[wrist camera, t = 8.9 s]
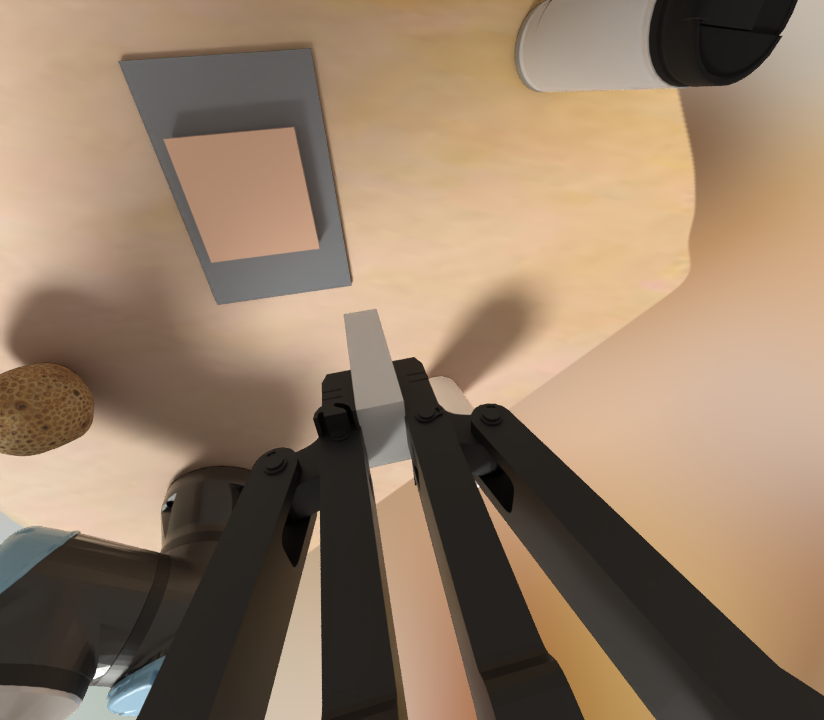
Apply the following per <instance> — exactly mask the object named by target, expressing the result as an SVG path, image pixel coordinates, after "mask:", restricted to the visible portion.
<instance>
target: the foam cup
mask: <svg viewBox="0 0 824 720" xmlns="http://www.w3.org/2000/svg"><path fill="white" fill-rule="evenodd" d="M428 380H429V381H430V384H431V386H432V389H433V391H434V394H435V396H436V399H437V401H438V403H439V405H441V406H442V407H443V408H444V409H445V410H446V411H448V412H451V413H454V414H463V415H471V413H472V412H473V410H474V407H473V406H472V405H471V403H470V402H469V401H468V399H467V398H466V396H465V395H464V394H463V392H462V391H461V390H460V388H459V387H458V386H457V385H456V383H455V382H454V381H453V380H452V379H451V378H447V377H443V376H438V377H431V378H429V379H428ZM475 482H476V481H475ZM476 485H477V487H479V485H478V484H477V483H476Z"/></svg>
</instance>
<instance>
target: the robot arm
mask: <svg viewBox="0 0 824 720" xmlns="http://www.w3.org/2000/svg"><path fill="white" fill-rule="evenodd" d="M344 321H345V329H346V336H347V344H348V352H349V360H350V367H351V370H348V371H342V372H337V373H332V374H327V375H326V377H325V379H324V380H323V382H322V406H321V407H320V408H319V409H318V410H317V411H316V412H315V414H314V418H313V420H314V423H315V426H316V429H317V433H318V436H319V438H318V439H317V440H316V441H315V442H314V443H312V444H311V445H310V446H308V447H306V448H304V449H302V450H300V451H298V452H296V453H295V452H294V451H293V450H291V449H289V448H277V449H273V450H271V451H269V452H266V453H265V454H264V455H262V456H261V457H260V458H259V459H258V460H257V461H256V463H255V464H254V466H253V468H252V470H251V471H248V470H245V469H240V468H234V467H210V468H204V469H200V470H196V471H193V472H190V473H188V474H186V475H184V476H182V477H180V478H179V479H178V480H176V481H175V482H174V483H173V484H172V485H171V486H170V488H169V489H168V492H167V494H166V497H165V499H164V502H163V504H162V509H161V530H162V549H161V553H158V552H154V551H150V550H146V549H142V548H138V547H133V546H129V545H125V544H121V543H117V542H113V541H109V540H105V539H101V538H97V537H93V536H89V535H85V534H81V533H80V531H72V532H69V531H63V530H58V529H53V528H47V527H42V526H32V527H27V528H24V529H21V530H19V531H17V532H15V533H14V534H12V535H11V536H9V537H8V538H7V539H6V540H5V541H4V542H3V543H2V544H1V545H0V720H65V719H67V718H68V717H69V716H70V715H72V714H73V713H74V712H76V711H77V710H78V709H79V707H80V705H81V703H82V701H83V698H84V696H85V694H86V691H87V689H88V686H104V687H110V688H111V689H110V691H109V693H108V696H107V699H108V704H107V707H108V709H109V711H110V712H112V713H113V714H116V713H119V715H122V716H138V717H137V719H136V720H264V719H265V715H266V711H267V707H268V703H269V699H270V695H271V691H272V687H273V684H274V680H275V676H276V672H277V668H278V664H279V660H280V656H281V653H282V649H283V645H284V641H285V637H286V633H287V629H288V625H289V622H290V618H291V614H292V610H293V606H294V602H295V598H296V594H297V591H298V587H299V583H300V579H301V575H302V571H303V568H304V564H305V560H306V556H307V552H308V548H309V544H310V540H311V537H312V533H313V529H314V525H315V521H316V517H317V512H318V511H320V548H321V549H320V552H321V630H322V631H321V633H322V634H321V637H322V638H321V639H322V719H321V720H408V716H407V709H406V702H405V696H404V689H403V683H402V676H401V669H400V663H399V656H398V650H397V643H396V636H395V630H394V624H393V616H392V610H391V603H390V596H389V590H388V583H387V578H386V570H385V564H384V557H383V550H382V543H381V537H380V530H379V525H378V517H377V510H376V504H375V497H374V491H373V484H372V478H371V474H370V469H369V468H372V467H377V466H381V465H386V464H390V463H395V462H399V461H404V460H408V459H412V464H413V472H414V480H415V485H417V487H418V491H419V495H420V499H421V503H422V506H423V510H424V514H425V518H426V522H427V525H428V530H429V533H430V537H431V541H432V545H433V548H434V553H435V556H436V560H437V564H438V568H439V572H440V576H441V579H442V583H443V587H444V591H445V595H446V598H447V603H448V606H449V610H450V614H451V618H452V622H453V625H454V629H455V633H456V637H457V641H458V645H459V649H460V652H461V656H462V660H463V664H464V667H465V672H466V675H467V679H468V683H469V687H470V691H471V695H472V698H473V702H474V706H475V710H476V715H477V719H478V720H584V718H583V715H582V713H581V710H580V708H579V706H578V703H577V701H576V699H575V697H574V694H573V692H572V690H571V688H570V685H569V683H568V681H567V679H566V677H565V675H564V673H563V671H562V669H561V667H560V666H559V664H558V663H557V661H556V660H555V659H554V658H553V657H552V656H551V655H550V654H549V653H548V652H547V650H546V648H545V647H544V644H543V642H542V640H541V638H540V635H539V633H538V631H537V628H536V626H535V623H534V621H533V619H532V616H531V614H530V612H529V609H528V607H527V605H526V602H525V600H524V597H523V595H522V592H521V590H520V588H519V585H518V583H517V581H516V578H515V576H514V573H513V571H512V568H511V566H510V564H509V561H508V559H507V557H506V554H505V552H504V549H503V547H502V544H501V542H500V540H499V537H498V535H497V532H496V530H495V528H494V525H493V523H492V521H491V518H490V516H489V513H488V511H487V508H486V506H485V504H484V501H483V499H482V497H481V495H480V492H479V490H478V487H477V485H476V483H477V484H478V485H479V487H480V488H481V489H482V491H483V492H484V493H485V495H486V496H487V497H488V498H489V500H490V501H491V502H492V504H493V505H494V506H495V508H496V509H497V510H498V512H499V513H500V514H501V516H502V517H503V518H504V520H505V521H506V522H507V524H508V525H509V526H510V527H511V529H512V530H513V531H514V533H515V534H516V535H517V537H518V538H519V539H520V541H521V542H522V543H523V545H524V546H525V547H526V548H527V550H528V551H529V552H530V554H531V555H532V557H533V558H534V559H535V560H536V562H537V563H538V564H539V566H540V567H541V568H542V570H543V571H544V572H545V574H546V575H547V576H548V578H549V579H550V580H551V582H552V583H553V584H554V586H555V587H556V588H557V589H558V591H559V592H560V593H561V595H562V596H563V597H564V599H565V600H566V601H567V603H568V604H569V605H570V607H571V608H572V609H573V611H574V612H575V613H576V614H577V616H578V617H579V619H580V620H581V621H582V622H583V624H584V625H585V626H586V628H587V629H588V630H589V632H590V633H591V634H592V636H593V637H594V638H595V639H596V641H597V642H598V644H599V645H600V646H601V648H602V649H603V650H604V652H605V653H606V654H607V655H608V657H609V658H610V659H611V661H612V662H613V663H614V665H615V666H616V667H617V669H618V670H619V671H620V673H621V674H622V675H623V677H624V678H625V679H626V680H627V682H628V683H629V685H631V687H632V688H633V690H634V691H635V692H636V694H637V695H638V696H639V698H640V699H641V700H642V702H643V703H644V704H645V706H646V707H647V708H648V710H649V711H650V712H651V714H652V715H653V716H654V717H655V719H656V720H824V696H823V695H822V694H820V693H818V692H817V691H815V690H814V689H812V688H811V687H809V686H808V685H806V684H805V683H803V682H802V681H800V680H799V679H797V678H795V677H794V676H792V675H791V674H789V673H788V672H786V671H785V670H783V669H781V668H780V667H779V666H778V665H777V664H776V663H775V662H773V661H772V660H771V659H770V658H769V657H768V656H767V655H766V654H765V653H764V652H763V651H762V650H761V649H760V648H759V647H758V646H757V645H756V644H755V643H753V642H752V641H751V640H750V639H749V638H748V637H747V636H746V635H745V634H744V633H743V632H742V631H741V630H740V629H739V628H738V627H736V625H735V624H733V623H732V622H731V621H730V620H729V619H728V618H727V617H726V616H725V615H724V614H723V613H722V612H721V611H720V610H719V609H718V608H716V606H714V605H713V604H712V603H711V602H710V601H709V600H708V599H707V598H706V597H705V596H704V595H703V594H702V593H701V592H700V591H699V590H698V589H696V588H695V587H694V586H693V585H692V584H691V583H690V582H689V581H688V580H687V579H686V578H685V577H684V576H683V575H682V574H681V573H680V572H679V571H677V570H676V569H675V568H674V567H673V566H672V565H671V564H670V563H669V562H668V561H667V560H666V559H665V558H664V557H663V556H662V555H661V554H660V553H659V552H658V551H656V550H655V549H654V548H653V547H652V546H651V545H650V544H649V543H648V542H647V541H646V540H645V539H644V538H643V537H642V536H641V535H639V533H638V532H636V531H635V530H634V529H633V528H632V527H631V526H630V525H629V524H628V523H627V522H626V521H625V520H624V519H623V518H622V517H621V516H620V515H619V514H617V513H616V512H615V511H614V510H613V509H612V508H611V507H610V506H609V505H608V504H607V503H606V502H605V501H604V500H603V499H602V498H601V497H600V496H598V495H597V494H596V493H595V492H594V491H593V490H592V489H591V488H590V487H589V486H588V485H587V484H586V483H585V482H584V481H583V480H582V479H581V478H580V477H578V476H577V475H576V474H575V473H574V472H573V471H572V470H571V469H570V468H569V467H568V466H567V465H566V464H565V463H564V462H563V461H562V460H561V459H560V458H558V457H557V456H556V455H555V454H554V453H553V452H552V451H551V450H550V449H549V448H548V447H547V446H546V445H545V444H543V442H541V440H539V439H538V438H537V437H536V436H535V435H534V434H533V433H532V432H531V431H530V430H529V429H528V428H527V427H526V426H525V425H524V424H523V423H521V422H520V421H519V420H518V419H517V418H516V417H515V416H514V415H513V414H512V413H511V412H510V411H509V410H508V409H506V408H505V407H503V406H500V405H497V404H483V405H480V406H478V407H476V408H475V409H474V410H473V412H472V413H471V415H463V414H454V413H451V412H448V411H446V410H445V409H444V408H443V407H442V406H441V405H439V403H438V401H437V399H436V396H435V394H434V391H433V389H432V386H431V384H430V381H429V380H428V377H427V374H426V372H425V369H424V367H423V364H422V363H421V362H420V361H418V360H417V359H416V358H415V357H412V358H407V359H402V360H396V361H392V360H391V356H390V353H389V349H388V346H387V343H386V339H385V336H384V332H383V329H382V326H381V322H380V319H379V315H378V312H377V309H373V310H367V311H361V312H355V313H349V314H344ZM475 481H476V482H475Z"/></svg>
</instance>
